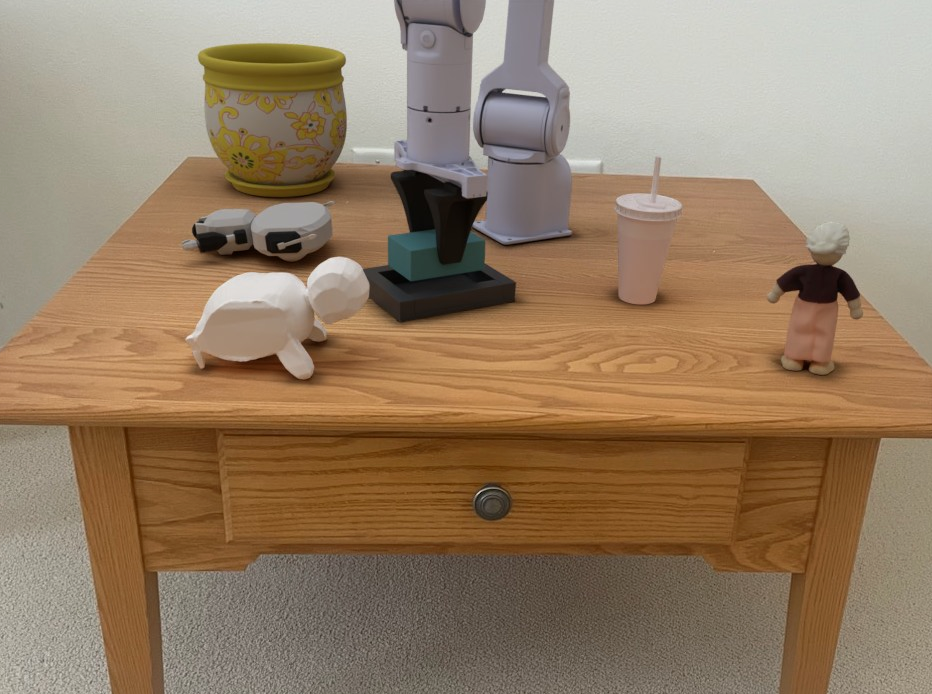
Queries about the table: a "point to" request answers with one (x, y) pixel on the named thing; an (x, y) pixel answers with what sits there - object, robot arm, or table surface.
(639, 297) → the smoothie
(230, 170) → the flowerpot
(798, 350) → the grandmother figurine
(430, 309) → the mount
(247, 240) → the robot toy
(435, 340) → the table surface
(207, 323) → the white turtle figure
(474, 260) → the teal rectangular block
